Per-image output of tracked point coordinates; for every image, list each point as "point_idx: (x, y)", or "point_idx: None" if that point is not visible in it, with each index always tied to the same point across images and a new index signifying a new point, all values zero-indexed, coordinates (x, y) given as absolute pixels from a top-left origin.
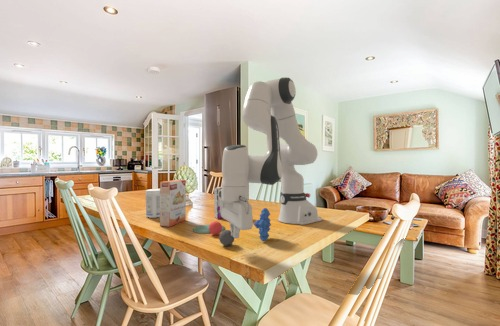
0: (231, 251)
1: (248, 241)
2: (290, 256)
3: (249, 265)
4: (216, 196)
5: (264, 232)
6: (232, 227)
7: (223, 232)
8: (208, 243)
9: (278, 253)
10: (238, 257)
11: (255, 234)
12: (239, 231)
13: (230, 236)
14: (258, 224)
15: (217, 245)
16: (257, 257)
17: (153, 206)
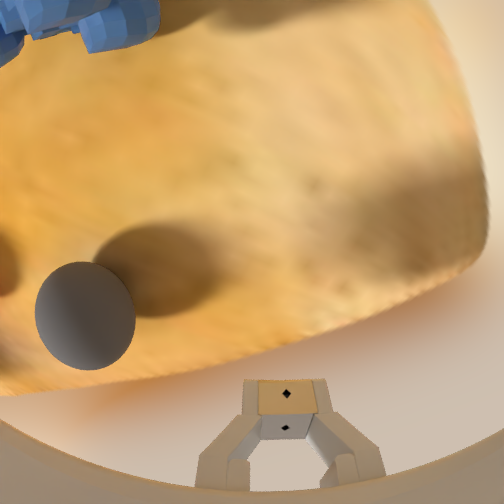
0: (212, 303)
1: (76, 132)
2: (448, 42)
3: (427, 289)
4: None
5: (150, 3)
6: (241, 458)
7: (84, 368)
8: None
9: (391, 54)
10: (320, 302)
11: None
12: (344, 421)
13: (115, 327)
14: (4, 36)
15: None
16: (383, 207)
17: None
